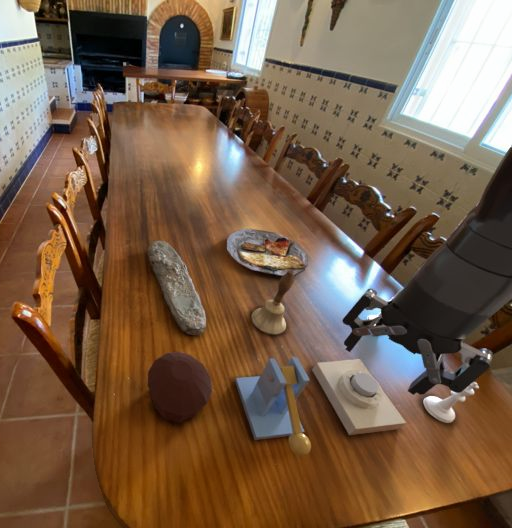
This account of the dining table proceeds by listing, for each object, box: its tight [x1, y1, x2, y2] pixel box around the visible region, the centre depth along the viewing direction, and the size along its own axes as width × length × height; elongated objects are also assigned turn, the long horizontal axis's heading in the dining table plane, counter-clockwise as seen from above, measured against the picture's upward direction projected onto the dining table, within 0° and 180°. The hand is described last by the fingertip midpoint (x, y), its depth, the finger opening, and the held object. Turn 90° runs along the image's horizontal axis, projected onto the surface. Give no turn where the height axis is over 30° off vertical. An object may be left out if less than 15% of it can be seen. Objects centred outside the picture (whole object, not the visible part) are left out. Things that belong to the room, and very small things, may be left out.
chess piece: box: [423, 381, 480, 424], centre depth 55 cm, size 5×5×10 cm
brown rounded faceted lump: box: [147, 351, 213, 424], centre depth 53 cm, size 12×11×10 cm
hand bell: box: [250, 270, 295, 335], centre depth 68 cm, size 8×8×16 cm
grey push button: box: [351, 372, 379, 397], centre depth 56 cm, size 4×4×2 cm
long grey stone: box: [147, 240, 207, 336], centre depth 79 cm, size 35×5×10 cm
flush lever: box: [279, 365, 312, 457], centre depth 48 cm, size 13×3×3 cm
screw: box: [365, 289, 402, 320], centre depth 69 cm, size 13×5×5 cm
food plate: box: [226, 228, 309, 277], centre depth 93 cm, size 25×23×4 cm
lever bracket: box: [234, 356, 311, 441], centre depth 52 cm, size 11×9×13 cm
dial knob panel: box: [311, 358, 407, 436], centre depth 57 cm, size 13×10×4 cm
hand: (379, 367), depth 43 cm, fingers open, 8 cm apart
